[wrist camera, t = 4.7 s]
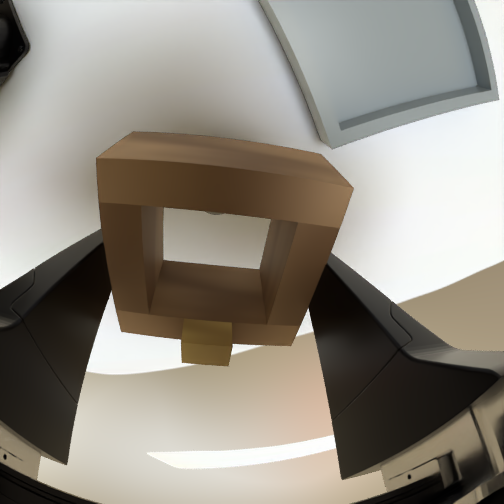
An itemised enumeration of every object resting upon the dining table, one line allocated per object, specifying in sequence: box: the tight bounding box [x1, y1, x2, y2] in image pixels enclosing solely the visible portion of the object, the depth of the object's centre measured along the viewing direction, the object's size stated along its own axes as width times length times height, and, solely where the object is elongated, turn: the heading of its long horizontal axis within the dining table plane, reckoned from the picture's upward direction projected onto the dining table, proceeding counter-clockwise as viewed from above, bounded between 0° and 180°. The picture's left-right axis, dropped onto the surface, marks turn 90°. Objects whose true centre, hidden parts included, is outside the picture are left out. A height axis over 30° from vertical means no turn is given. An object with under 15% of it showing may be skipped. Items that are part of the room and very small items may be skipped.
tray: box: [258, 0, 499, 149], centre depth 9 cm, size 14×14×2 cm
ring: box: [96, 131, 354, 366], centre depth 9 cm, size 6×6×4 cm
